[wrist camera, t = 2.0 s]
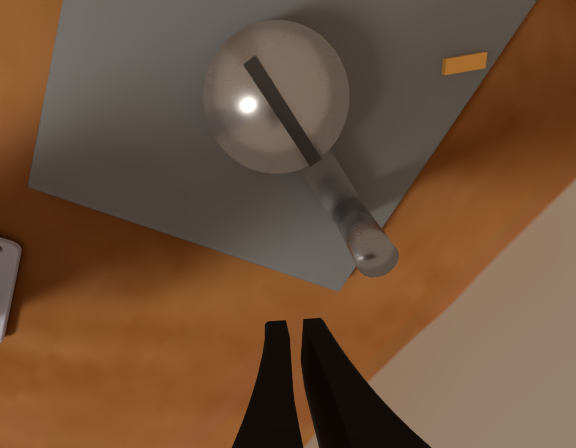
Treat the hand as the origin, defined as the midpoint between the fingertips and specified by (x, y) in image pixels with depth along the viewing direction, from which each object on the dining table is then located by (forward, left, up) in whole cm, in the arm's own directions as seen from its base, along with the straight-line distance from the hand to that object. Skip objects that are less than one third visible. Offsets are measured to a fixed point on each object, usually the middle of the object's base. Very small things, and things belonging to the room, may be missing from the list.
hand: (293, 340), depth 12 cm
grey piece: (-1, +5, -8) cm, 10 cm away
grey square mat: (-3, +6, -9) cm, 12 cm away
